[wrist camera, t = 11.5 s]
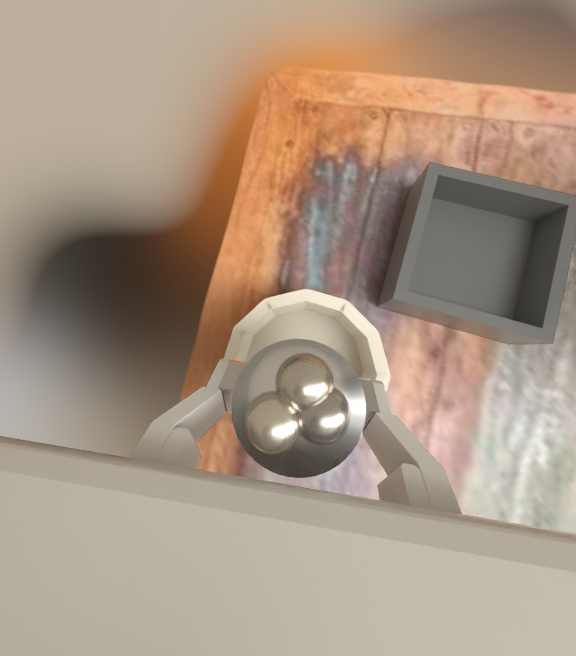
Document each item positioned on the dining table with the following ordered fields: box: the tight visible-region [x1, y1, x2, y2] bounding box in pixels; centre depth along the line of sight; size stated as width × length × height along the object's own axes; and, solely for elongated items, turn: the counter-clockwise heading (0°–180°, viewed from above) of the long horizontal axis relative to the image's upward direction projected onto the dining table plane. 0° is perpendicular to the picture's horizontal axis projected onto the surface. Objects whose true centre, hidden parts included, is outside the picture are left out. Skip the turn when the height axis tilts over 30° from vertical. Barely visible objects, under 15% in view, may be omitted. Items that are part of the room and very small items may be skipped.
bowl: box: [224, 289, 390, 436], centre depth 19 cm, size 13×13×4 cm
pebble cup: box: [231, 339, 366, 478], centre depth 11 cm, size 4×4×9 cm
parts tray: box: [377, 162, 576, 344], centre depth 19 cm, size 13×13×4 cm
